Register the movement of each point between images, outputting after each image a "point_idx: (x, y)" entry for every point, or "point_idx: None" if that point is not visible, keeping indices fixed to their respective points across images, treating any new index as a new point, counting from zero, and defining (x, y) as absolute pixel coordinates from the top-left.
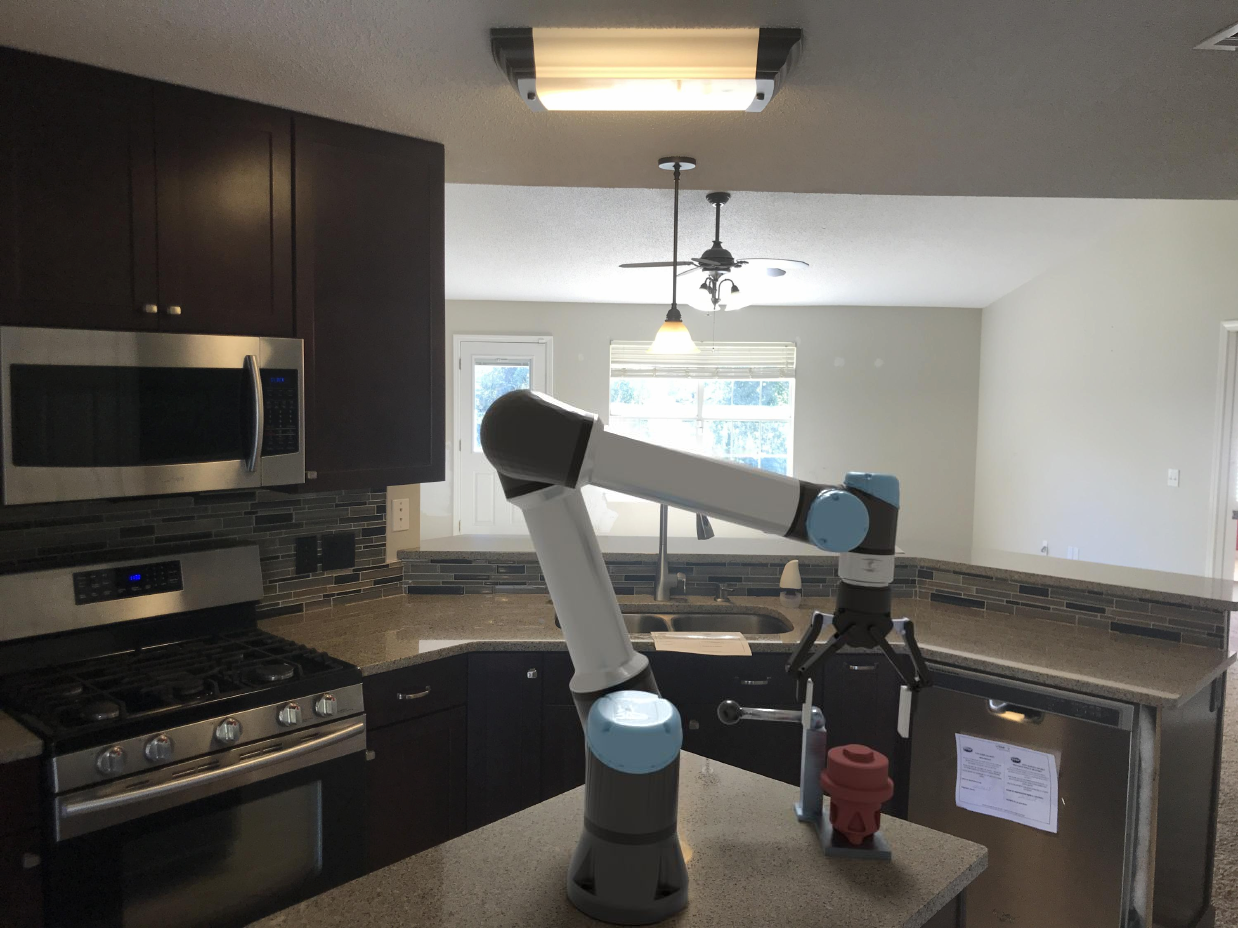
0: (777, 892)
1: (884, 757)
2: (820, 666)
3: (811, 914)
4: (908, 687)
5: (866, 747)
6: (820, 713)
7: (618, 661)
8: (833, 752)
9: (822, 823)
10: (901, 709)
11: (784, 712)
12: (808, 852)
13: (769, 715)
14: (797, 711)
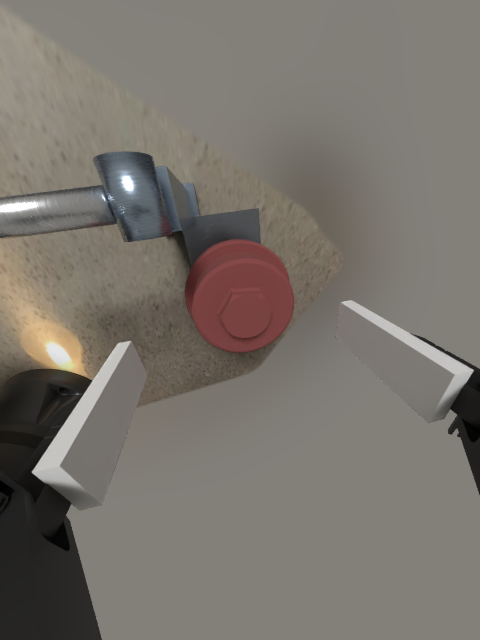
0: (169, 370)
1: (289, 302)
2: (92, 621)
3: (196, 385)
4: (462, 396)
5: (263, 305)
6: (151, 230)
7: None
8: (202, 310)
9: (196, 257)
10: (377, 348)
11: (29, 228)
12: (186, 306)
13: None
14: (69, 211)
